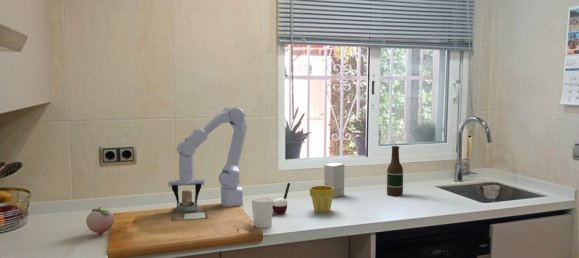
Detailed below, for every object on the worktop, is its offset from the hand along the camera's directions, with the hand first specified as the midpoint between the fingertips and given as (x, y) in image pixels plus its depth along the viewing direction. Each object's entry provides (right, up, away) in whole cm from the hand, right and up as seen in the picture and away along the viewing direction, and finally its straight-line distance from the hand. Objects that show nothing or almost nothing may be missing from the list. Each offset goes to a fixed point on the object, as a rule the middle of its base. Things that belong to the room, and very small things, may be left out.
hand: (187, 202), depth 187 cm
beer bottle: (+94, -2, +33) cm, 100 cm away
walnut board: (+2, -5, -4) cm, 7 cm away
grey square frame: (0, -3, 0) cm, 3 cm away
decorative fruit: (-25, -7, -27) cm, 38 cm away
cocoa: (+39, -5, +1) cm, 39 cm away
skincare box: (+65, -2, +33) cm, 72 cm away
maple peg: (0, -3, 0) cm, 3 cm away
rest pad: (+5, -4, -9) cm, 11 cm away
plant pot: (+56, -4, +4) cm, 57 cm away
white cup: (+32, -6, -17) cm, 37 cm away
